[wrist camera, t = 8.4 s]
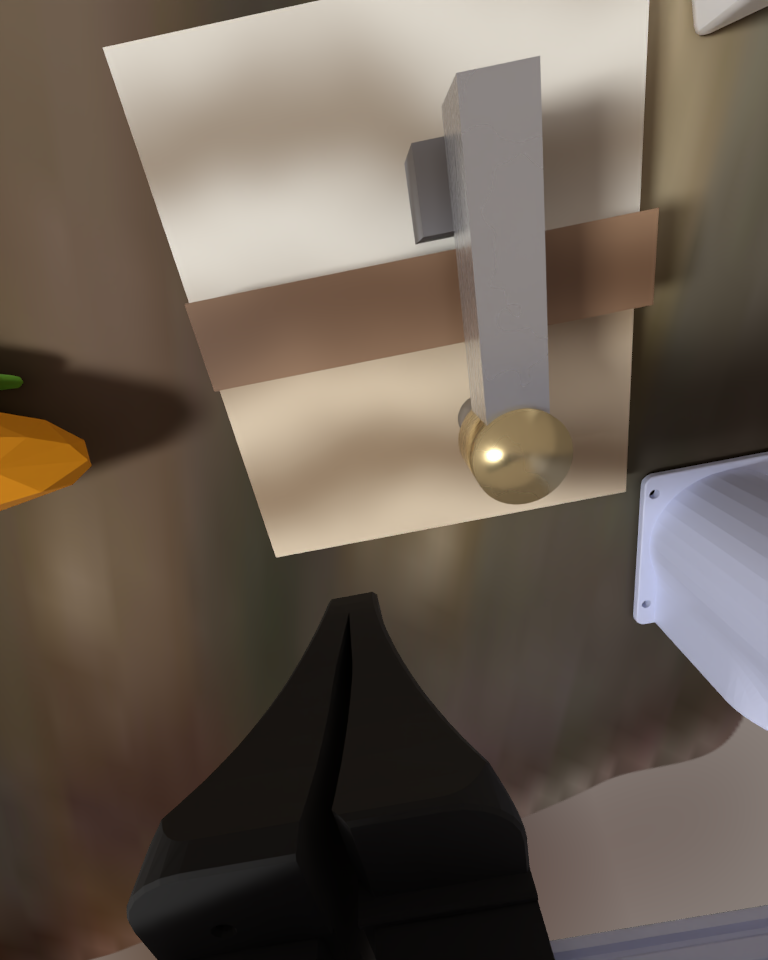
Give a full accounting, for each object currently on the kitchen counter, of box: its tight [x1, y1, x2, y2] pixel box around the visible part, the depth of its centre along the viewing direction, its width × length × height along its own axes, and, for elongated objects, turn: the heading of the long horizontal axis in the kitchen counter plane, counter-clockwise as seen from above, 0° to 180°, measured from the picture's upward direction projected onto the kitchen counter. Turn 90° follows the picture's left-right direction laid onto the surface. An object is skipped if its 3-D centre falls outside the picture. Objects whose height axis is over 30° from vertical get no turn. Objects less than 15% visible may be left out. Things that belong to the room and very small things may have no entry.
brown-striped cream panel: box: [103, 0, 659, 557], centre depth 16 cm, size 19×17×4 cm
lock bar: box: [441, 56, 573, 505], centre depth 13 cm, size 12×3×2 cm, turn 10°
